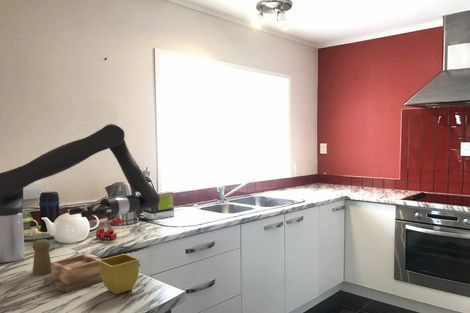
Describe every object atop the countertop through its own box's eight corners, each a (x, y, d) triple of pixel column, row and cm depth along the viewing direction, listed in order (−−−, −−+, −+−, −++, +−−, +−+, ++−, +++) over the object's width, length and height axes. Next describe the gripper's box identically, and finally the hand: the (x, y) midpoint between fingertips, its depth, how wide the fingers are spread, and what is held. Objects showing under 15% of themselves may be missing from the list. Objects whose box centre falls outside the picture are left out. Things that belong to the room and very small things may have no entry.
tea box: (166, 214, 226) (165, 190, 226) (174, 216, 218) (173, 191, 218) (143, 217, 216) (142, 192, 216) (151, 220, 209) (150, 194, 208)
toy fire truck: (100, 237, 172) (99, 216, 172) (123, 239, 166) (122, 218, 166) (94, 238, 169) (94, 217, 168) (118, 241, 163) (117, 219, 163)
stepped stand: (44, 282, 114) (43, 263, 114) (86, 269, 125) (85, 252, 125) (67, 292, 106) (66, 272, 106) (110, 278, 117) (109, 259, 117)
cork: (55, 269, 127) (54, 237, 127) (47, 275, 121) (46, 242, 121) (37, 269, 127) (36, 238, 126) (28, 275, 121) (27, 242, 120)
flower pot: (98, 290, 107) (97, 259, 107) (126, 282, 113) (125, 253, 113) (112, 299, 101) (111, 266, 100) (141, 289, 107) (140, 259, 107)
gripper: (103, 195, 150) (64, 201, 137) (125, 198, 141) (85, 204, 128) (104, 214, 150) (65, 221, 137) (125, 217, 141) (86, 225, 128)
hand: (75, 213), depth 133 cm, fingers open, 8 cm apart
